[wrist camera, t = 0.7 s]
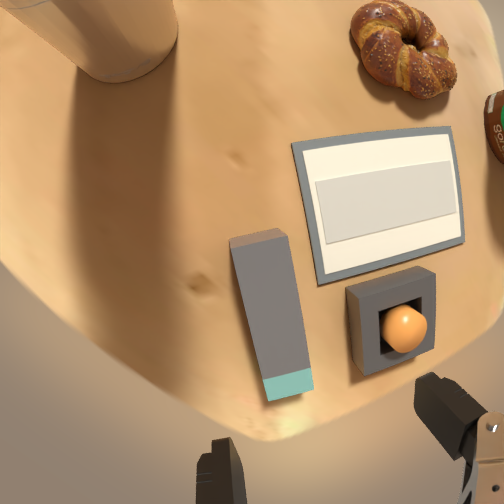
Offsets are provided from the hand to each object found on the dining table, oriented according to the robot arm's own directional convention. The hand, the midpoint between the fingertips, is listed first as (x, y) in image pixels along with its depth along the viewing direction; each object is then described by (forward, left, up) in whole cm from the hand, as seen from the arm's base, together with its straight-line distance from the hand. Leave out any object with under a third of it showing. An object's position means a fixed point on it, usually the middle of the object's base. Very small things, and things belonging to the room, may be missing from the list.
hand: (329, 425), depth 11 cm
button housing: (+5, +11, -16) cm, 20 cm away
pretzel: (-20, +18, -17) cm, 32 cm away
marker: (+1, 0, -16) cm, 16 cm away
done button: (+5, +11, -14) cm, 18 cm away
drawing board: (-6, +13, -16) cm, 21 cm away
